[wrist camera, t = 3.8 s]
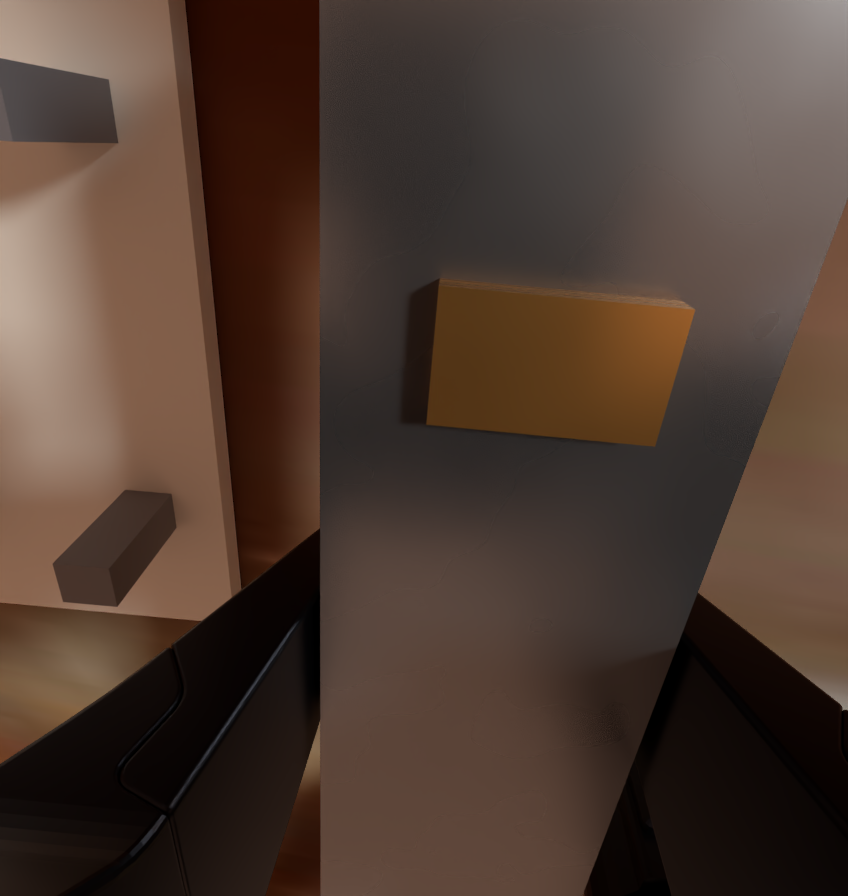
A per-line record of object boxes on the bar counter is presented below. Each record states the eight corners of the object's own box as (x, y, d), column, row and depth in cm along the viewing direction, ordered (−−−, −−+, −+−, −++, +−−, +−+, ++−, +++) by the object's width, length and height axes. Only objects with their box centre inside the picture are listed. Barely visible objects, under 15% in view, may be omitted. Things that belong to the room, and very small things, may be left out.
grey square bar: (508, 837, 15) (524, 1072, 11) (353, 820, 15) (317, 1048, 11) (799, -320, 6) (1431, -1189, 2) (403, -352, 6) (299, -1251, 2)
